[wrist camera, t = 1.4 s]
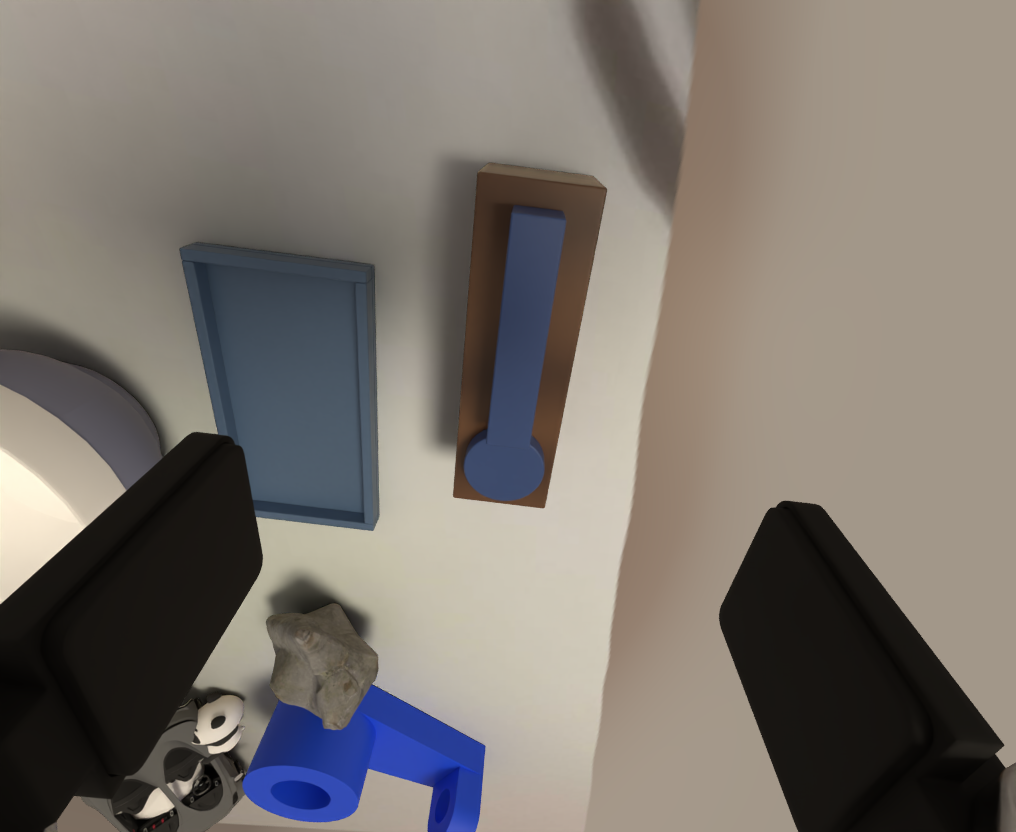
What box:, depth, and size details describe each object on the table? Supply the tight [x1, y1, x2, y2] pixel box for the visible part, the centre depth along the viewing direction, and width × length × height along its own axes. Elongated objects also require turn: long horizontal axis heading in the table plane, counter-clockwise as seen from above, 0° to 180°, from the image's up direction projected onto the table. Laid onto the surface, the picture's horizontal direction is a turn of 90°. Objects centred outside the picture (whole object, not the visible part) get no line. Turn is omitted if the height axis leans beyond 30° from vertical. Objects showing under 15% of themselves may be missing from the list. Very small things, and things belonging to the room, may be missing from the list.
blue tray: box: [180, 242, 379, 531], centre depth 30 cm, size 17×9×2 cm, turn 173°
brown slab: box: [453, 163, 607, 508], centre depth 25 cm, size 16×5×5 cm, turn 173°
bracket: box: [242, 685, 485, 832], centre depth 44 cm, size 20×9×8 cm, turn 55°
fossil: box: [266, 603, 378, 730], centre depth 37 cm, size 11×9×8 cm
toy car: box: [80, 692, 245, 832], centre depth 48 cm, size 18×13×9 cm
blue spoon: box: [464, 205, 566, 501], centre depth 22 cm, size 14×4×2 cm, turn 173°
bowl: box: [0, 349, 163, 604], centre depth 28 cm, size 16×16×10 cm
